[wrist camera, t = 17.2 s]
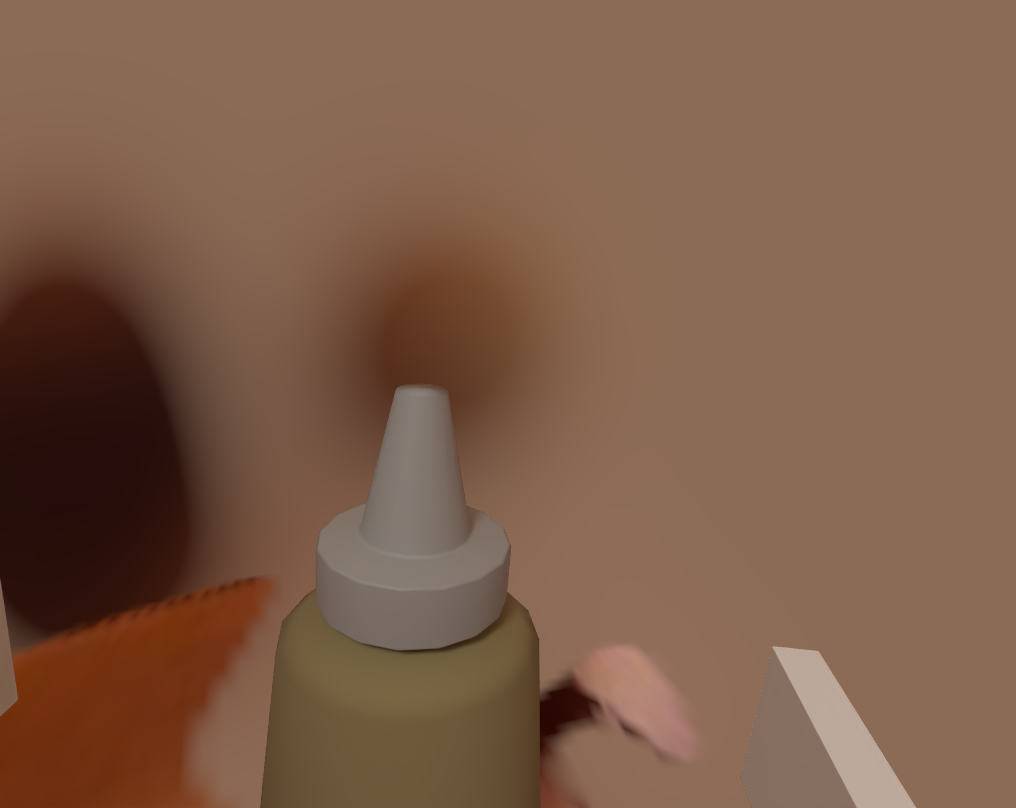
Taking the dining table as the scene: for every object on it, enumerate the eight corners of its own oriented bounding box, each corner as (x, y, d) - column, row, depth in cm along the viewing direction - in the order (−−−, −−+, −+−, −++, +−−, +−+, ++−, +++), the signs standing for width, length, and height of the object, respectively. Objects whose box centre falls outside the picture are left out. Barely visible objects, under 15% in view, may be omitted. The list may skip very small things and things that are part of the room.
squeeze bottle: (476, 816, 25) (516, 350, 20) (577, 1064, 18) (677, 440, 13) (247, 883, 22) (227, 352, 17) (260, 1213, 15) (231, 470, 10)
